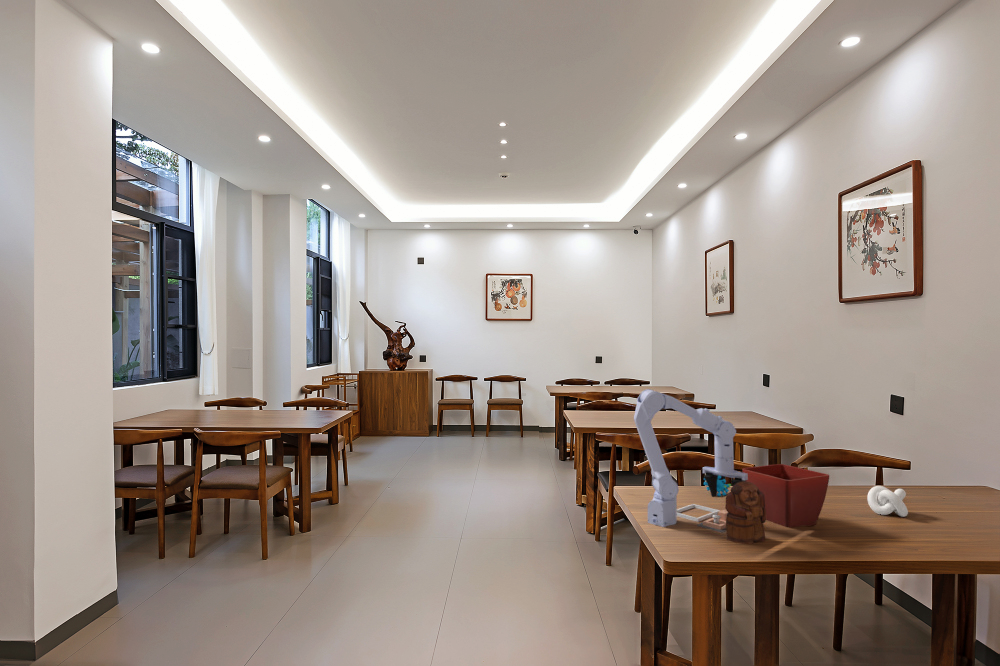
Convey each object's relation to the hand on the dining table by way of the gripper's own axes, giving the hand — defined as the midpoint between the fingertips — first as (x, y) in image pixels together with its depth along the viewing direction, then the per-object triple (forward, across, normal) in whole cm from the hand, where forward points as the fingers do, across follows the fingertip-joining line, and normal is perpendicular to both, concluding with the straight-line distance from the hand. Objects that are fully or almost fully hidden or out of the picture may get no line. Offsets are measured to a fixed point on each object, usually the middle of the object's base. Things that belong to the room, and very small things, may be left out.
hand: (725, 498), depth 181 cm
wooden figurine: (+9, -12, +11) cm, 19 cm away
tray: (+8, +11, 0) cm, 14 cm away
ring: (+8, 0, +4) cm, 8 cm away
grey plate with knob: (+8, 0, +6) cm, 10 cm away
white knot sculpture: (+10, -31, -55) cm, 64 cm away
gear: (+9, +21, -33) cm, 41 cm away
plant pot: (+9, -11, -18) cm, 23 cm away
